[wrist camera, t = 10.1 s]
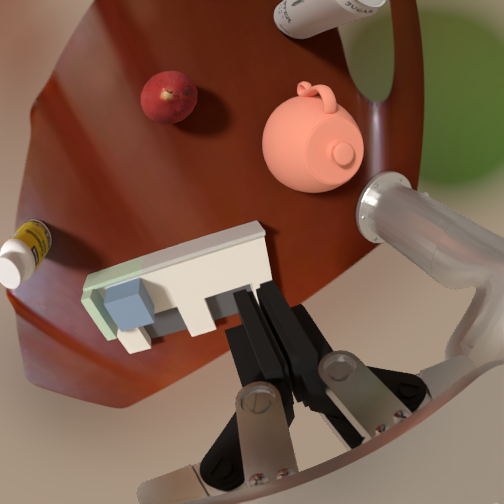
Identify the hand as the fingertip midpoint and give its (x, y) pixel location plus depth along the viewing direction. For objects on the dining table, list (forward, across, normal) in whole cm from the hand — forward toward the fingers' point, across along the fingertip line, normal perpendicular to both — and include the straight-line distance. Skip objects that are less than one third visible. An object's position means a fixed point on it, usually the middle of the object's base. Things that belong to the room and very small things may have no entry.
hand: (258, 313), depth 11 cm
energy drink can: (+25, -16, -18) cm, 35 cm away
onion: (+25, +1, -10) cm, 27 cm away
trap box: (+25, +6, +16) cm, 30 cm away
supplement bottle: (+25, +24, 0) cm, 35 cm away
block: (+23, +14, +12) cm, 29 cm away
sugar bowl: (+25, -14, -2) cm, 29 cm away
